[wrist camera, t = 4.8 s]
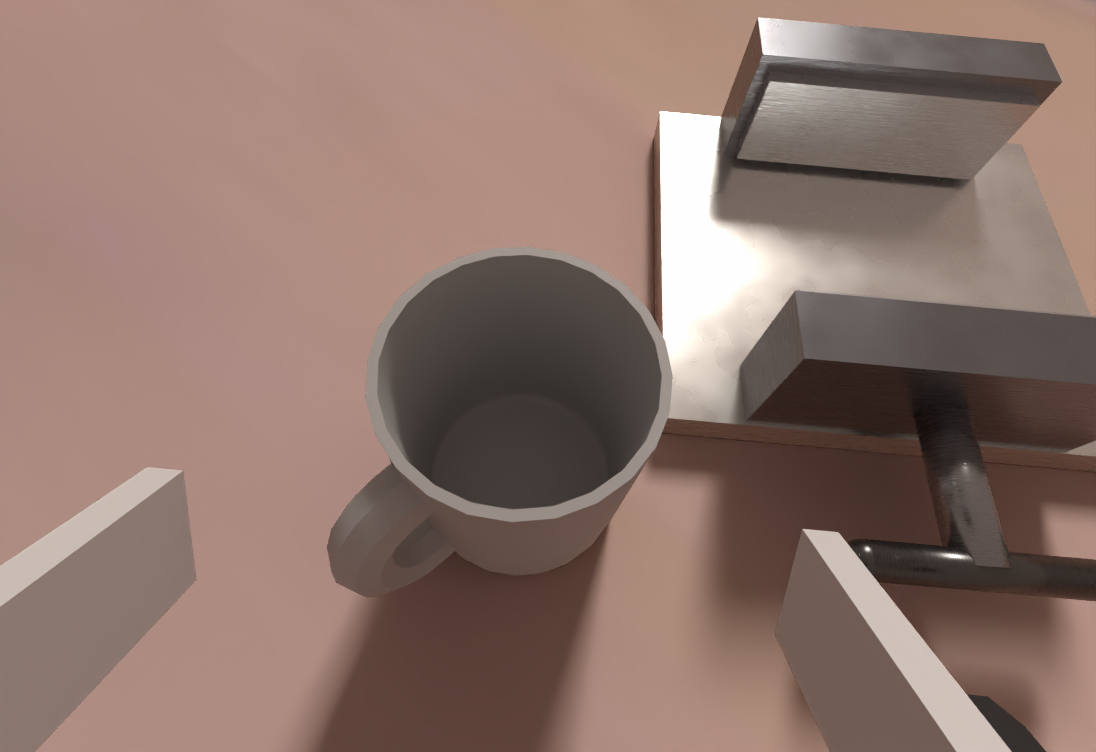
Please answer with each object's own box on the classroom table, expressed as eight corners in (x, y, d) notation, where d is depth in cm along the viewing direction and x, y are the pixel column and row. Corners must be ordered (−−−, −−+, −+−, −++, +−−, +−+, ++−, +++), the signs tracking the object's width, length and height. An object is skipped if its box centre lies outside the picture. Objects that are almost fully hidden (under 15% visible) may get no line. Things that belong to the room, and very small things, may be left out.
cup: (656, 483, 22) (735, 378, 14) (446, 690, 18) (390, 710, 10) (527, 357, 24) (530, 203, 16) (318, 522, 21) (192, 431, 13)
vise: (656, 579, 20) (710, 545, 14) (653, 136, 30) (686, 9, 24) (1168, 625, 20) (1429, 609, 14) (999, 167, 30) (1114, 48, 24)
